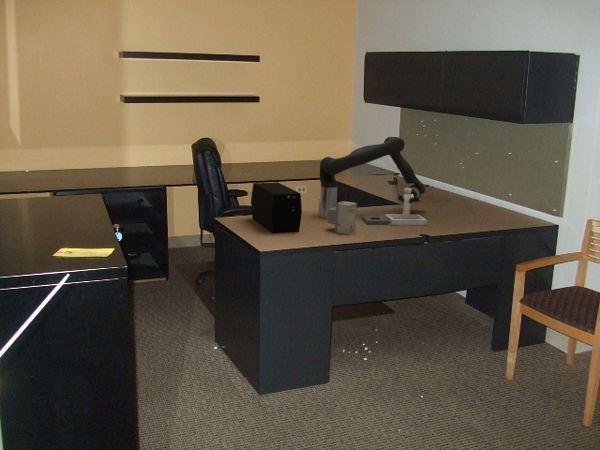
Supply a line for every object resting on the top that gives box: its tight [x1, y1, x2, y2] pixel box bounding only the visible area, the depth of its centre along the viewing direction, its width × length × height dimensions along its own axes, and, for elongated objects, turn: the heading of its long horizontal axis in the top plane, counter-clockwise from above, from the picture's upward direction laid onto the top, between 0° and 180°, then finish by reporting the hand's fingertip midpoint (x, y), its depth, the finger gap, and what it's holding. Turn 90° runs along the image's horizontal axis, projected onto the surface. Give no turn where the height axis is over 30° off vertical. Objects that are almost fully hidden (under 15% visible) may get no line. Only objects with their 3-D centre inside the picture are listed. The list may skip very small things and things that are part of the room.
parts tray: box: [384, 213, 428, 226], centre depth 365 cm, size 20×14×3 cm
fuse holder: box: [361, 215, 390, 226], centre depth 363 cm, size 12×12×2 cm
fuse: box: [402, 187, 412, 216], centre depth 363 cm, size 4×4×15 cm
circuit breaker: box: [327, 200, 358, 235], centre depth 340 cm, size 8×14×15 cm, turn 56°
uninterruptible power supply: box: [250, 181, 303, 235], centre depth 344 cm, size 16×34×20 cm, turn 23°
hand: (406, 200), depth 360 cm, fingers closed on fuse, 3 cm apart
